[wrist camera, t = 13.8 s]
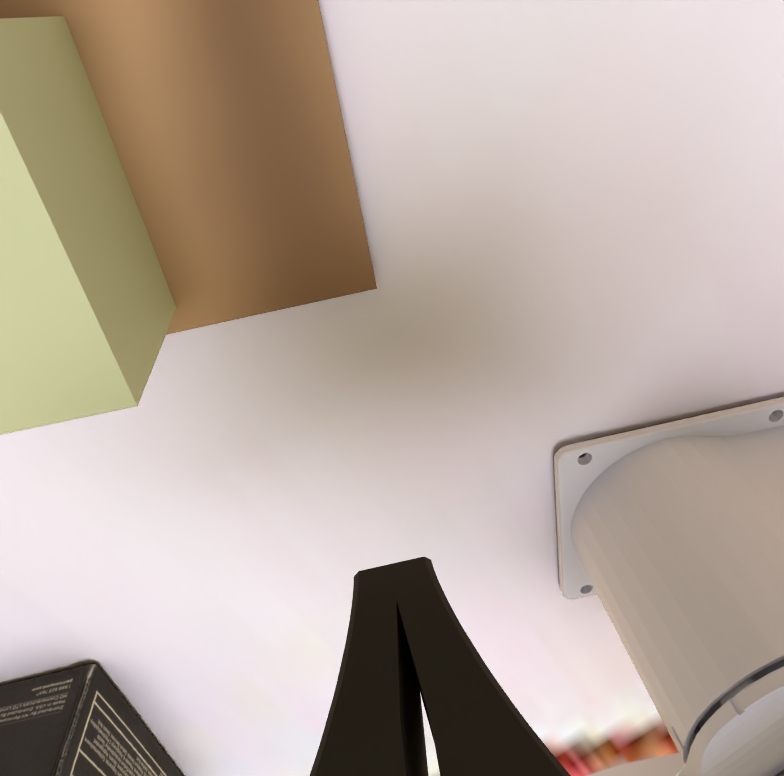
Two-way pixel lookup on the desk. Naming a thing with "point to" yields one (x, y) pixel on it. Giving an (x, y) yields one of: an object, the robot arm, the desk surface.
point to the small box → (75, 729)
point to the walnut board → (226, 147)
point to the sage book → (68, 243)
